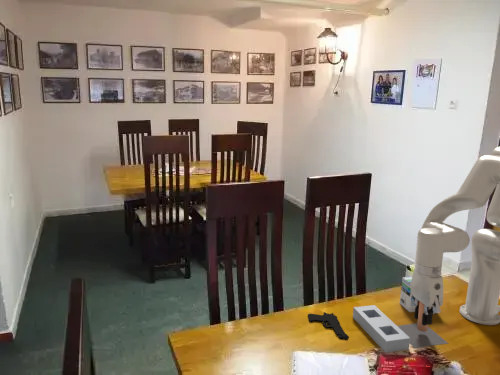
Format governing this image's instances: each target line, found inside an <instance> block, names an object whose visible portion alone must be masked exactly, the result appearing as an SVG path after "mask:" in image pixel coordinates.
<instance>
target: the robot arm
mask: <svg viewBox="0 0 500 375" xmlns="http://www.w3.org/2000/svg"><path fill="white" fill-rule="evenodd" d="M492 194H493V195H492ZM491 195H492V198H491V201H490V204H489V206H488V209H487V213H486V221H487V222H488V224H489V225H492V226H494V227H497V228H500V146H498V147H495V148H494V149H493V150H492V151H491V154H485V155H482V156H480V157H479V158H478V159H477V160H476V161H475V163H474V164H473V166H472V168H471V169H470V171H469V173H468V174H467V176H466V178H465V179H464V180H463V183H462V184H461V186H460V188H459V189H458V191H457V192H456V193H455V194H452V195H450V196H448V197H447V198H444V199H443V200H442V201H440V202H438V203H437V204H436V205H435V206H434V207H432V209H431V210H429V211H430V212H429V213H428V214H427V216H426V218H425V219H424V222H423V224H422V225H421V229H419V230H418V232H417V237H416V238H417V239H416V249H415V259H414V269H413V271H412V276H411V277H412V280H411V291H410V293H411V295H412V296H413V299H414V306H415V312H414V316H413V318H414V319H416V320H418V312H419V301H420V302H422V303H423V304H424V305H425V306H424V313H423V316H422V325H428V326H429V325H432V324H433V315H434V314H440V313H441V311H442V310H441V306H443V305H444V280H443V276H442V269H443V259H444V254H445V253H459V252H462V251H465V249H467V248H468V246H469V245H470V247H471V263H470V273H469V278H468V284H467V291H466V297H465V304H462V305H460V307H459V314H460V315H461V316H463V318H465V319H467V320H469V321H471V322H473V323H477V324H479V325H486V326H495V325H499V324H500V314H499V313H500V305H499V298H500V231H498V230H495V229H491V228H481V229H480V228H479V229H478V230H476V231H475V232H474V233H473V235H472V237H470V235H469V234H468V232H466V231H465V230H464V229H462V228H460V227H457V226H454V225H451V224H448V223H444V222H445V220H447V218H449V217H450V216H451V215H453V214H455V213H459V212H462V211H467V210H474V209H480V208H482V207H484V206H485V205H486V204H487V202H488V201H489V199H490V197H491ZM470 238H471V241H470ZM428 307H429V308H431V309H429V310H428Z"/></svg>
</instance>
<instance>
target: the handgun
mask: <svg viewBox="0 0 500 375" xmlns="http://www.w3.org/2000/svg"><path fill="white" fill-rule="evenodd" d="M307 318H308V321H309V323H315V322H316V323H322V325H323V328H324V329H326V330H328V329H330V330H333V331H334V333H335V335H336V336H337V337H338V339H339V340H344V341H345V340H346V341H348V340H349V338H350V336H349V335H348V334H347V333H345V331H344V328H343V327H342V326H341V323H340V321H339V319H338V316H337V315H336V314H335V313H334V312H331V313H328V312H327V313H326V312H323V314H322V315H321V314H317V313H316V314H315V313H308V314H307Z"/></svg>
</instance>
